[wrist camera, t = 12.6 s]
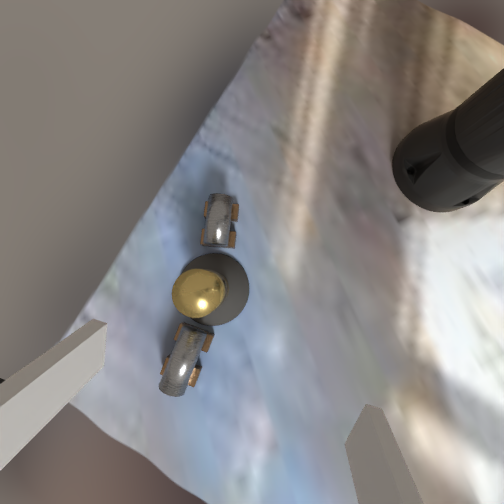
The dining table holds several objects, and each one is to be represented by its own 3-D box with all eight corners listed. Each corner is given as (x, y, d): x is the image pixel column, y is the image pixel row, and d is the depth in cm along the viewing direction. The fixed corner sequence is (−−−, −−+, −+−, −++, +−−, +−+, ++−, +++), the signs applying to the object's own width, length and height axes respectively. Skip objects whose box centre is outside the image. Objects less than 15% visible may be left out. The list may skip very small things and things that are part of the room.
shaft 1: (183, 320, 36) (173, 326, 31) (215, 332, 36) (209, 340, 31) (162, 372, 35) (148, 387, 30) (195, 384, 35) (186, 402, 30)
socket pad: (262, 276, 37) (262, 275, 36) (225, 338, 36) (225, 339, 35) (202, 241, 37) (201, 240, 37) (164, 301, 36) (163, 301, 36)
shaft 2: (234, 249, 37) (232, 244, 32) (202, 246, 37) (195, 240, 32) (239, 206, 38) (237, 195, 33) (207, 203, 38) (201, 191, 33)
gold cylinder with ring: (236, 282, 36) (232, 283, 24) (218, 313, 36) (204, 330, 24) (207, 265, 36) (188, 257, 25) (188, 295, 36) (159, 302, 24)
